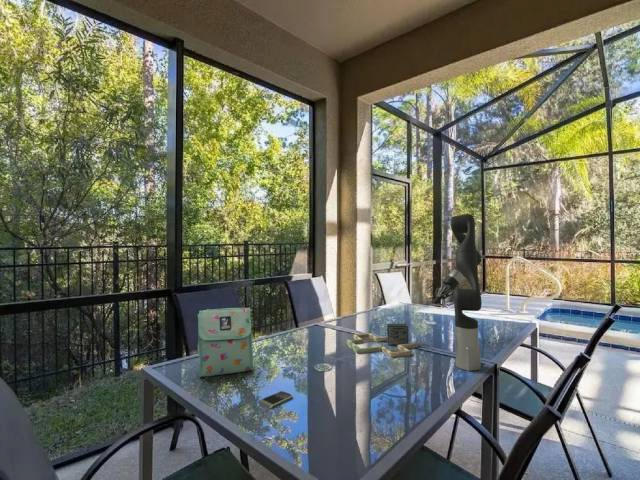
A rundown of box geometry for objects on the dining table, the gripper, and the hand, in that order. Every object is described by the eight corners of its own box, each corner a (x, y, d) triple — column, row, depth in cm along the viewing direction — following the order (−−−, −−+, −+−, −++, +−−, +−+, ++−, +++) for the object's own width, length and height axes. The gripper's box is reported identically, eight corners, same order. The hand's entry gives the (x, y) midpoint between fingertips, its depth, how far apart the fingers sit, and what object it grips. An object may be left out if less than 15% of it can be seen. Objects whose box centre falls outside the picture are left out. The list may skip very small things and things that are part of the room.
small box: (406, 342, 186) (406, 323, 186) (408, 346, 179) (408, 325, 179) (387, 342, 187) (386, 323, 187) (388, 345, 180) (387, 325, 180)
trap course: (429, 353, 167) (429, 347, 167) (365, 360, 158) (365, 353, 158) (393, 334, 203) (393, 329, 203) (339, 339, 194) (339, 334, 194)
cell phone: (294, 399, 121) (294, 395, 121) (269, 410, 112) (269, 406, 112) (282, 394, 125) (282, 390, 125) (257, 405, 116) (257, 400, 116)
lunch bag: (196, 380, 138) (195, 312, 138) (199, 366, 154) (198, 306, 154) (254, 373, 144) (253, 309, 145) (251, 361, 160) (250, 303, 160)
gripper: (442, 274, 196) (423, 296, 193) (456, 276, 184) (437, 300, 180) (450, 282, 198) (431, 305, 194) (465, 285, 185) (446, 309, 182)
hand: (434, 303), depth 187 cm, fingers closed
